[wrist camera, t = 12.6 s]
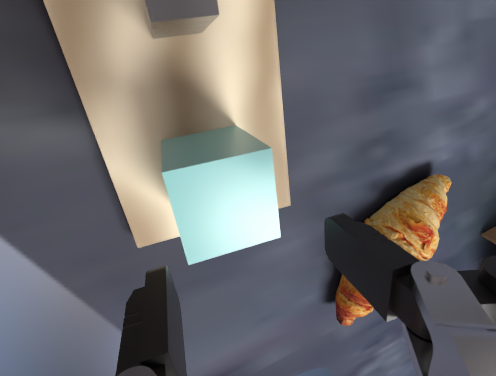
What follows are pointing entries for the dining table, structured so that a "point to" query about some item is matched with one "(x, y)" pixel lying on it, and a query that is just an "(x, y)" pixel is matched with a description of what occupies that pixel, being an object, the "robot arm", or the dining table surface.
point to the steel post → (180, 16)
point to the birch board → (170, 92)
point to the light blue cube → (220, 191)
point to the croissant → (401, 234)
